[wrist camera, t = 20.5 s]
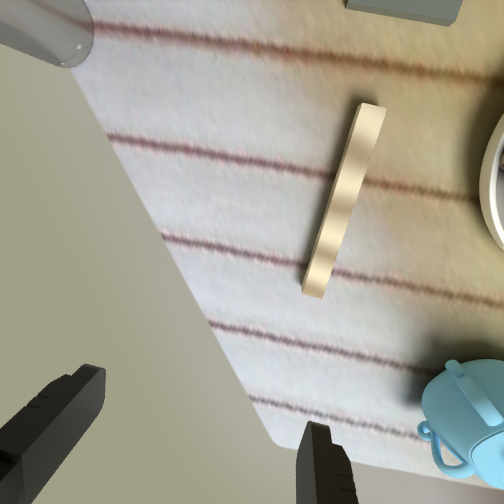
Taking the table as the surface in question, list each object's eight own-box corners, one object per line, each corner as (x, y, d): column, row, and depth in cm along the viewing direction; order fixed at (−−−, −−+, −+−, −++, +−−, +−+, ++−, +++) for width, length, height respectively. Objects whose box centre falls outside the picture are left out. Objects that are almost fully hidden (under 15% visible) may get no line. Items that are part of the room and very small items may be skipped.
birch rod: (320, 290, 46) (322, 298, 43) (301, 285, 46) (302, 293, 43) (379, 112, 38) (387, 108, 35) (356, 106, 38) (362, 102, 35)
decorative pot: (490, 440, 50) (559, 538, 37) (398, 412, 51) (435, 499, 38) (545, 365, 45) (648, 448, 32) (442, 334, 45) (503, 404, 32)
